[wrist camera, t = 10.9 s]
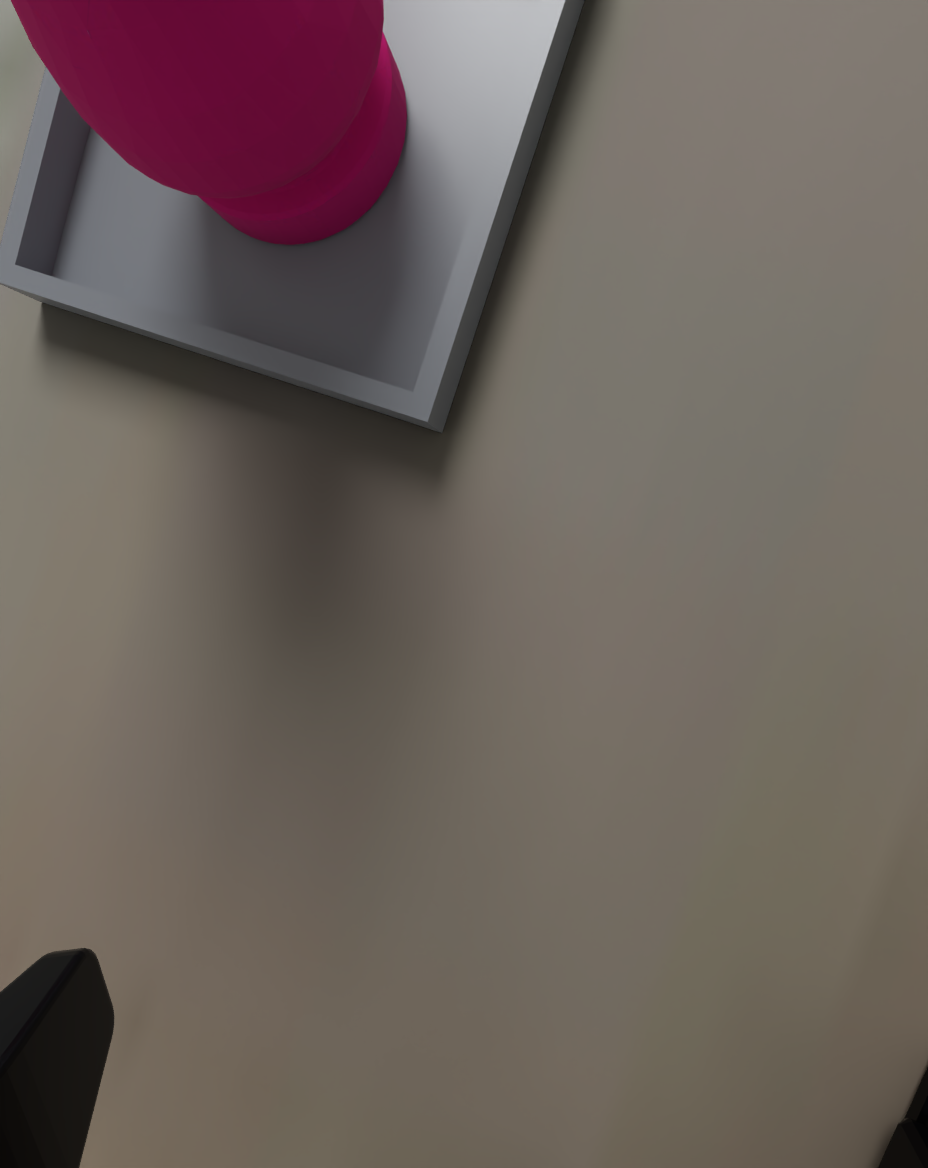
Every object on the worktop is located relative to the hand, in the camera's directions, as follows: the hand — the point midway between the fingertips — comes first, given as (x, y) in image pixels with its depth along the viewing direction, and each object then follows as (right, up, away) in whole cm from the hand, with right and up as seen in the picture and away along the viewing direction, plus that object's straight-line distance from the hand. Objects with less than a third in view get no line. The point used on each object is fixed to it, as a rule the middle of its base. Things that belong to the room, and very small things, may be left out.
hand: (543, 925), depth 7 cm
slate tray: (-5, +16, +13) cm, 21 cm away
